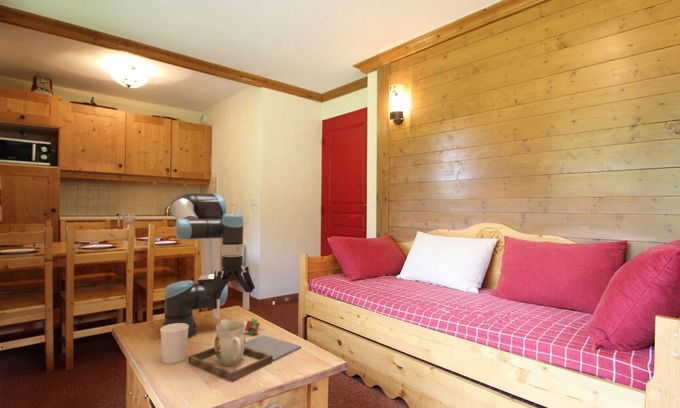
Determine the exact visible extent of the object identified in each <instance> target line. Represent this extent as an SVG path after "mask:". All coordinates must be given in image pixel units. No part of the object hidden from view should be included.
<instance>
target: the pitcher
mask: <svg viewBox="0 0 680 408" xmlns="http://www.w3.org/2000/svg"><path fill="white" fill-rule="evenodd" d="M244 324H245V323H242V322H240V321H236V320H230V319H221V320H220V322H219V323H218V324H217V325H216V326H215V331H216V335H215V339H214V346H213V347H215V356H216V360H217V361H218V362H219V364H220V365H221V366H224V367H228V366H229V367H230V366H235V365H237V364H238V363H239V362H240V361H241V359H242V357H243V355H244V354H243V353H244V349H245V342H246V336H245V333H244V331H245V330H244V327H245V328H246V325H244Z"/></svg>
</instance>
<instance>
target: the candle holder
mask: <svg viewBox="0 0 680 408" xmlns="http://www.w3.org/2000/svg"><path fill="white" fill-rule="evenodd" d="M161 327H162V326H161ZM161 327H160V329H159V332H160V331H161V338H160V347H161V348H160V349H161V361H162V362H163V363H164V364H166V365H167V364H168V365H170V364H177V363H180V362H182V361H185V360H186V359H187V355H188V354H187V353H188V352H187V351H188V341H189V338H188V329H189V325H188V324H185V323H175V324H169V325H166V326H163V327H162V328H161Z"/></svg>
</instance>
